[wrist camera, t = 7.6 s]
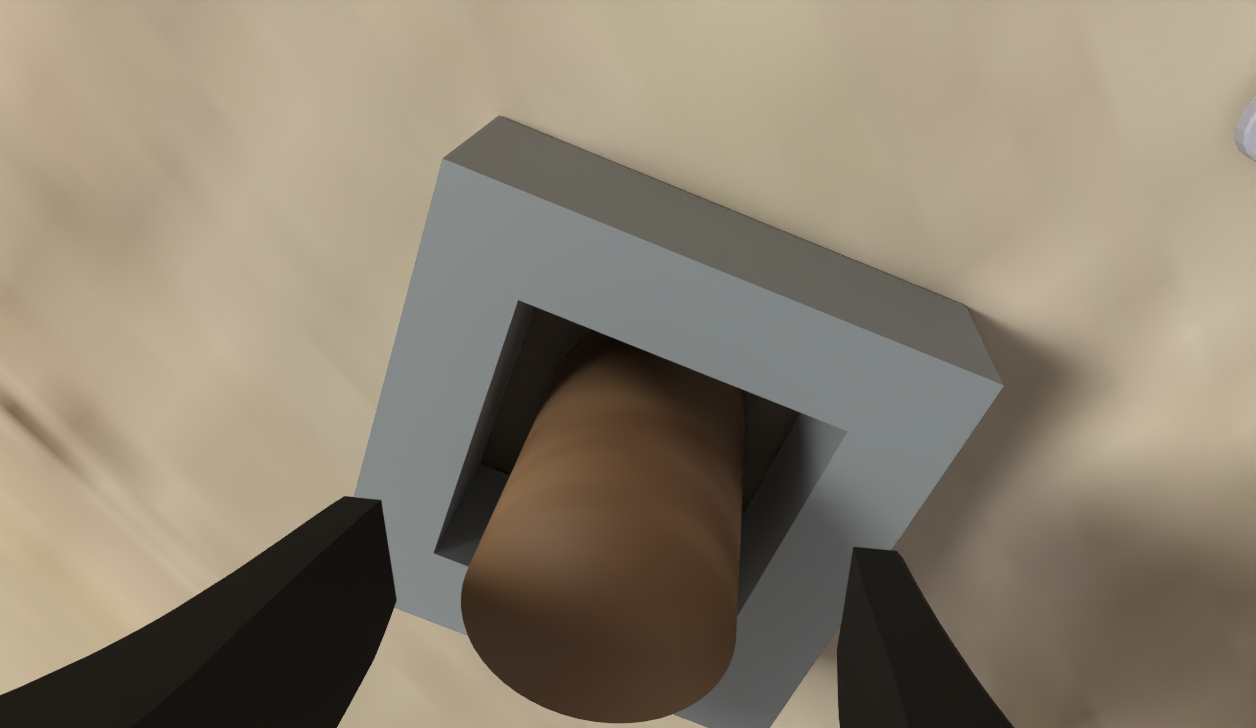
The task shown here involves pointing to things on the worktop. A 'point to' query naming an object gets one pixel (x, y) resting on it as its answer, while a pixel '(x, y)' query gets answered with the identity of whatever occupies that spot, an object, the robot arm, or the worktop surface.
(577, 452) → the walnut dowel
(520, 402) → the worktop surface
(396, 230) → the worktop surface
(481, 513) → the socket board
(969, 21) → the worktop surface
